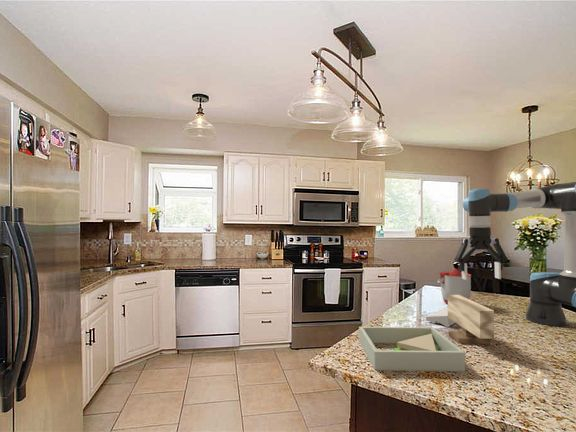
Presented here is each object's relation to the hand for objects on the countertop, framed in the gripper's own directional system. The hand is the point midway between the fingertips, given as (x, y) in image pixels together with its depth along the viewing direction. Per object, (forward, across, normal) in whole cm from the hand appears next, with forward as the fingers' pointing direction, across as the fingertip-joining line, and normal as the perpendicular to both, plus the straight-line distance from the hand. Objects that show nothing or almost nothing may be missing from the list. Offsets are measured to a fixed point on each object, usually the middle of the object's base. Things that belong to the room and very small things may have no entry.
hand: (481, 278), depth 130 cm
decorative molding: (+24, +3, -30) cm, 38 cm away
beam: (+18, +7, +3) cm, 20 cm away
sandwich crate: (+22, +38, +18) cm, 48 cm away
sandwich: (+23, +31, +17) cm, 42 cm away
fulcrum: (+23, +8, +3) cm, 25 cm away
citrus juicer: (+25, -15, -52) cm, 59 cm away
